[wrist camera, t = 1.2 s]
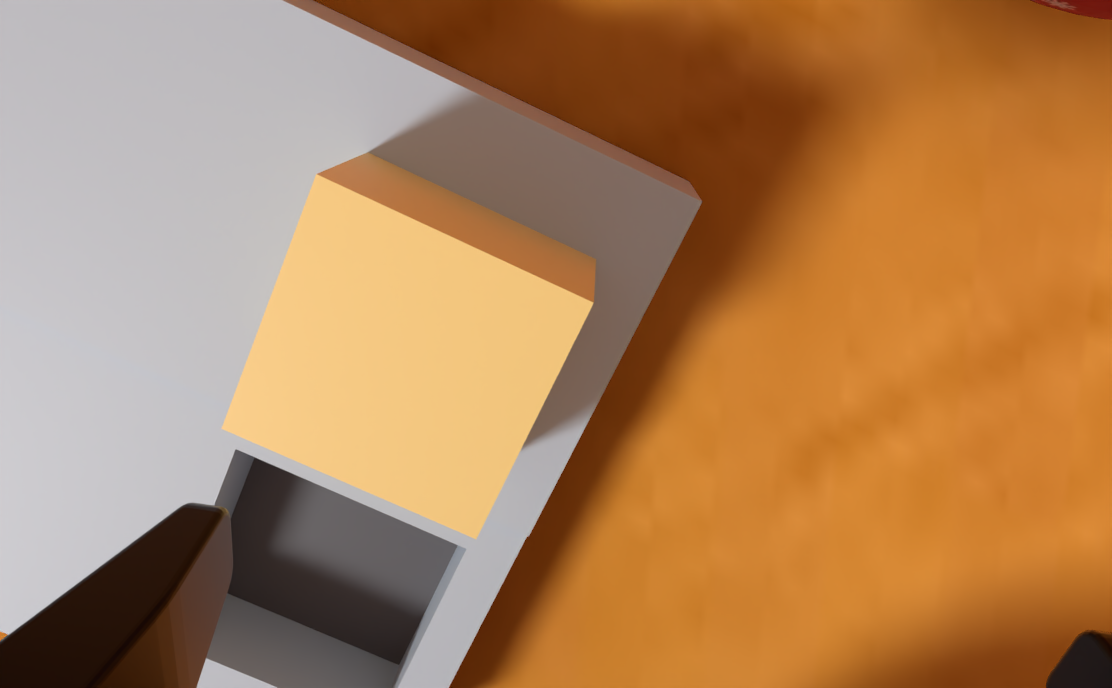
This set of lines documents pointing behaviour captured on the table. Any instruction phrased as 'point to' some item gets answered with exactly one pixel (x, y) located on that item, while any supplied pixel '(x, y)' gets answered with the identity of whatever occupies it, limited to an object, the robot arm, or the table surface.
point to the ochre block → (410, 341)
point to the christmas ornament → (1082, 7)
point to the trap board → (262, 313)
